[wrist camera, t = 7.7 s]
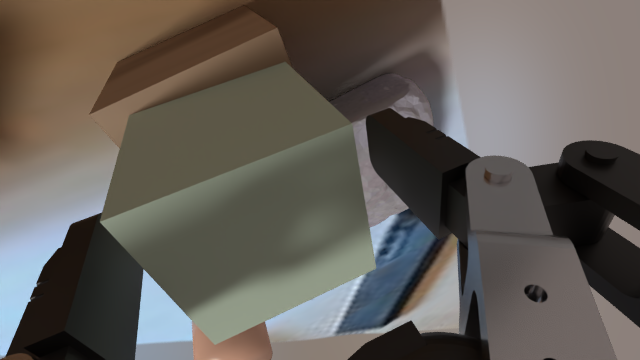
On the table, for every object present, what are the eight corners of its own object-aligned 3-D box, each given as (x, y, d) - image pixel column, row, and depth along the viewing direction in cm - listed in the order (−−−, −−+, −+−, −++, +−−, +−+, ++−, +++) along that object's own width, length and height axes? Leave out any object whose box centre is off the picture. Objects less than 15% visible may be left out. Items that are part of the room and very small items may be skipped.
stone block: (405, 160, 26) (396, 50, 18) (441, 204, 23) (450, 93, 15) (272, 228, 25) (205, 144, 18) (292, 282, 22) (222, 209, 15)
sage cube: (129, 115, 10) (99, 221, 6) (285, 61, 10) (352, 123, 6) (202, 227, 13) (214, 344, 9) (317, 179, 13) (376, 268, 10)
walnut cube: (117, 62, 14) (89, 114, 9) (243, 4, 14) (277, 27, 10) (194, 165, 18) (201, 239, 13) (292, 117, 18) (332, 171, 13)
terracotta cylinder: (178, 279, 21) (180, 367, 17) (241, 253, 22) (259, 330, 18) (205, 312, 24) (213, 396, 20) (260, 288, 25) (280, 363, 20)
